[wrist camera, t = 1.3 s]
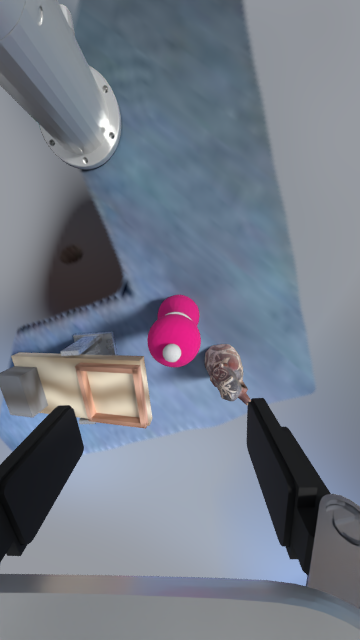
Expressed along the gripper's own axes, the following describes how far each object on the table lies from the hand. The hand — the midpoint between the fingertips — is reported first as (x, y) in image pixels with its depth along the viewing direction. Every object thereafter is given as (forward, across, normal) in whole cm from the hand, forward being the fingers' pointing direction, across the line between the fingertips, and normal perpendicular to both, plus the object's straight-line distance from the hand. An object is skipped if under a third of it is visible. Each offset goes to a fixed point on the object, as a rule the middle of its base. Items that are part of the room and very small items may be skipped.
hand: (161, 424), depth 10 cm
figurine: (+28, -8, +11) cm, 31 cm away
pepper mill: (+28, 0, 0) cm, 28 cm away
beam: (+20, +18, +11) cm, 29 cm away
